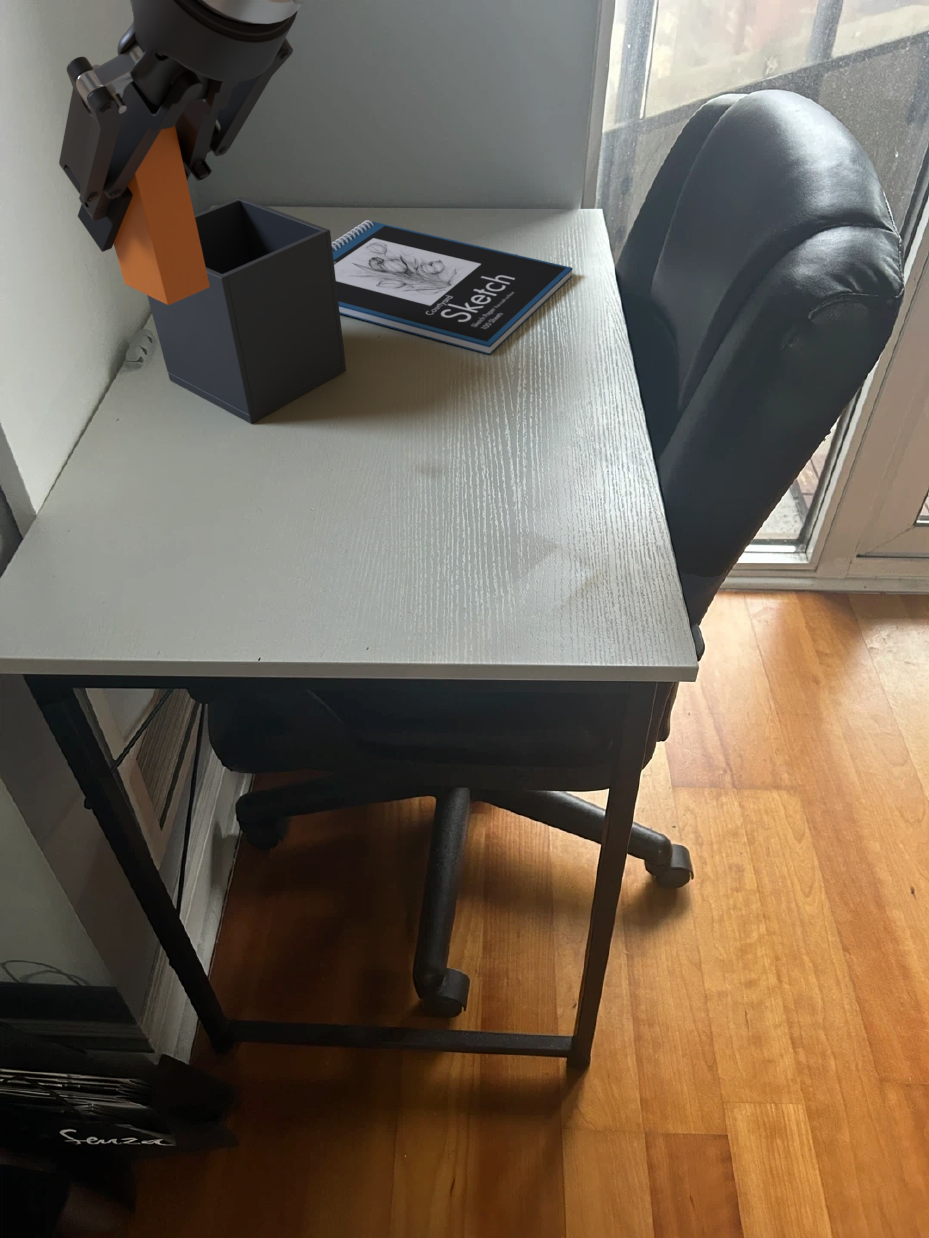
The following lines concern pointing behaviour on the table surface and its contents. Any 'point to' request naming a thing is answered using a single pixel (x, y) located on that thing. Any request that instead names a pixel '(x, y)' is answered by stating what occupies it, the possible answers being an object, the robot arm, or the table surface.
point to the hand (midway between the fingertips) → (121, 222)
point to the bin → (255, 312)
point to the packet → (161, 228)
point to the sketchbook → (439, 285)
